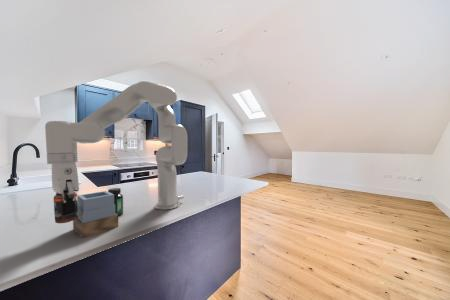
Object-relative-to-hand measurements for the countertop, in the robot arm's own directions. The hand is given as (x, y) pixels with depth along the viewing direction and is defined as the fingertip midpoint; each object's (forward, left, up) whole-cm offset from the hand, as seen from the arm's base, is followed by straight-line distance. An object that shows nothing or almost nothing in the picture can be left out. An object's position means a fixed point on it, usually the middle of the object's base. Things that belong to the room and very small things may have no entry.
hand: (65, 211), depth 60 cm
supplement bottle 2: (-19, -9, -9) cm, 23 cm away
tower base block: (-9, -1, -10) cm, 13 cm away
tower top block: (-9, -1, -5) cm, 10 cm away
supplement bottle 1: (0, 0, -3) cm, 3 cm away
